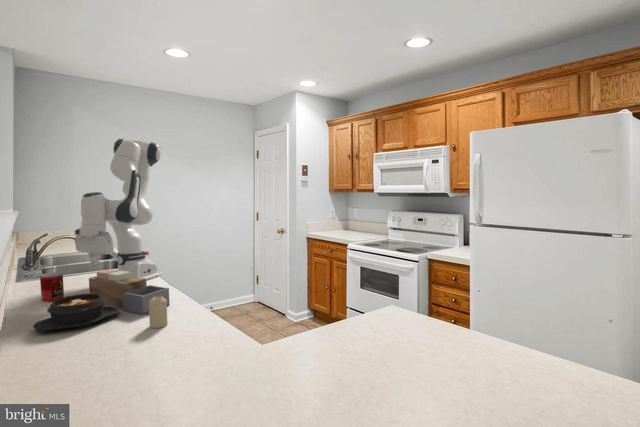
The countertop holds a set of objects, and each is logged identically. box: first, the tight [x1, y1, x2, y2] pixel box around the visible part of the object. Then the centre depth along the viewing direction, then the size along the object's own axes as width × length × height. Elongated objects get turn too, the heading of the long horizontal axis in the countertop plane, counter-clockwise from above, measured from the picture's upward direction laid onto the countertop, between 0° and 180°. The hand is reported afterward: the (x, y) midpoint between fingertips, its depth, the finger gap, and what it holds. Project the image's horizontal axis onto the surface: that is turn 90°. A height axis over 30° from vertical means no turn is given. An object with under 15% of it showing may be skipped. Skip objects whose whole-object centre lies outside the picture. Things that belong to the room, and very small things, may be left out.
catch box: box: [123, 284, 170, 316], centre depth 143 cm, size 12×11×7 cm
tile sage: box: [108, 271, 131, 281], centre depth 150 cm, size 6×6×2 cm
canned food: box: [39, 271, 65, 303], centre depth 156 cm, size 8×8×11 cm
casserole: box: [32, 293, 119, 332], centre depth 128 cm, size 25×19×8 cm
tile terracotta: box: [96, 268, 120, 279], centre depth 153 cm, size 6×6×2 cm
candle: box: [148, 296, 168, 329], centre depth 125 cm, size 6×6×10 cm
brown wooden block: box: [88, 275, 147, 310], centre depth 151 cm, size 9×23×10 cm, turn 64°
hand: (95, 263), depth 155 cm, fingers closed
